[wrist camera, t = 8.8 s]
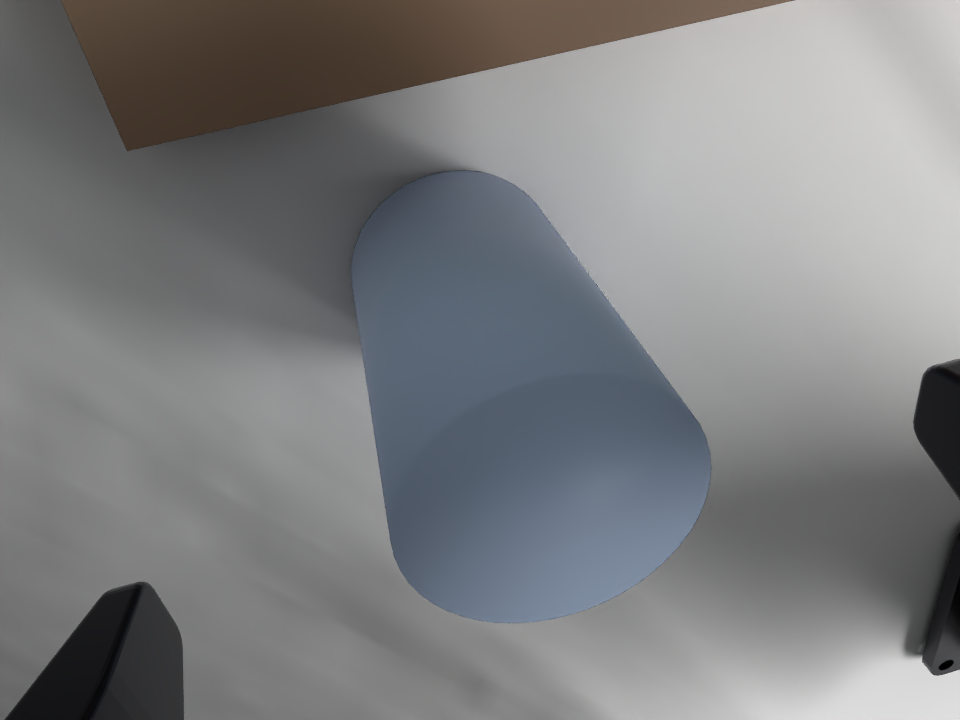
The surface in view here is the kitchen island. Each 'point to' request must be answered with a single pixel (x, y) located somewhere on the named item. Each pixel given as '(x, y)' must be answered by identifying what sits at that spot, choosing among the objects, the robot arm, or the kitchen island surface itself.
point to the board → (327, 50)
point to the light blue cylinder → (513, 409)
